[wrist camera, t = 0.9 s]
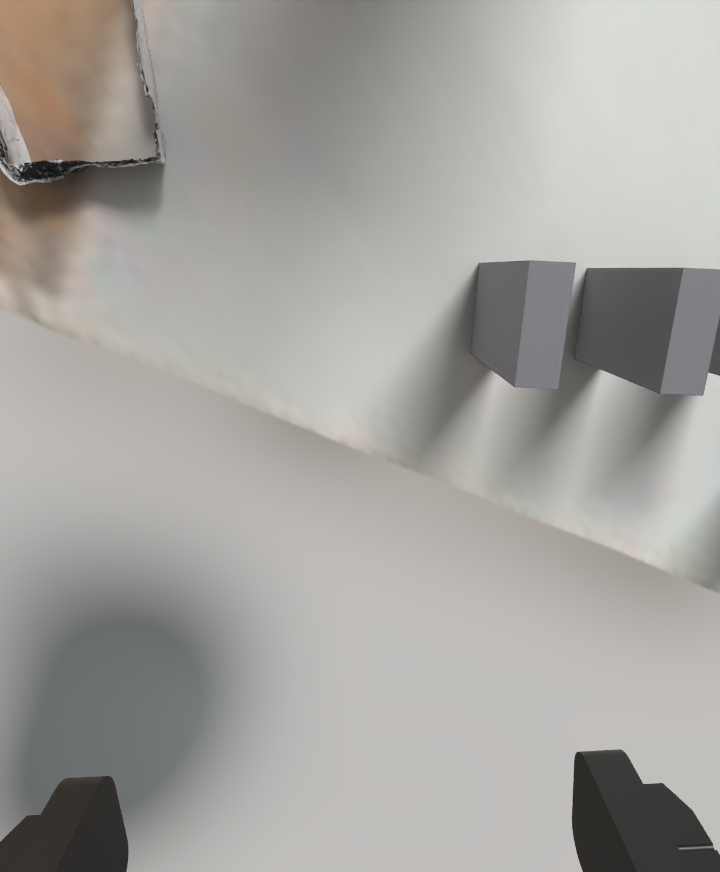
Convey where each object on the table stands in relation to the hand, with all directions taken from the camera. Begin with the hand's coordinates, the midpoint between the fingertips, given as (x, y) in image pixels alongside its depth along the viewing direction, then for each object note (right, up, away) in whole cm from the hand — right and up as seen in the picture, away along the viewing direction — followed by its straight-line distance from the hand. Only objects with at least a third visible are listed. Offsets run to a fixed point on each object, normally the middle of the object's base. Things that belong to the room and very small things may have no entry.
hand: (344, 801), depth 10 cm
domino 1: (+8, +13, +23) cm, 28 cm away
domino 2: (+14, +13, +23) cm, 30 cm away
